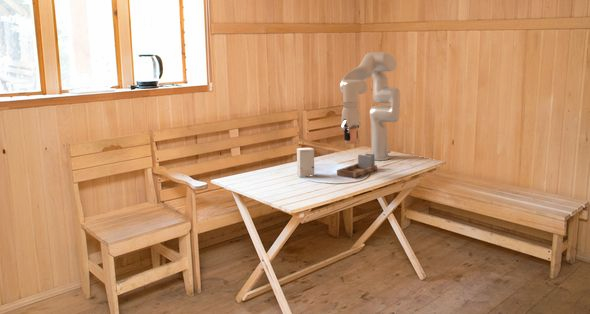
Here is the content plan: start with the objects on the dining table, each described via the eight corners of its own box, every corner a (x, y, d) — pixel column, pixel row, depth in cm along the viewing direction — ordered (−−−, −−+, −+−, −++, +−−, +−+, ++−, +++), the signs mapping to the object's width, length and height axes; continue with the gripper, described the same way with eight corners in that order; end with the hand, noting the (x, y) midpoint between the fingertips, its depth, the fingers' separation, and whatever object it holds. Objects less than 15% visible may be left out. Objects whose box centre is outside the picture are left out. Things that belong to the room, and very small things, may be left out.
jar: (349, 141, 299) (349, 124, 297) (359, 142, 295) (359, 125, 293) (342, 143, 294) (342, 126, 293) (352, 144, 290) (352, 126, 288)
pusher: (364, 165, 314) (364, 153, 312) (377, 167, 308) (377, 154, 307) (358, 167, 310) (358, 154, 308) (371, 169, 304) (370, 156, 303)
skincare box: (300, 177, 297) (299, 150, 294) (296, 175, 303) (295, 148, 300) (315, 176, 300) (314, 148, 296) (311, 173, 305) (310, 146, 302)
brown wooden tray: (358, 168, 313) (358, 162, 313) (376, 170, 305) (376, 165, 305) (337, 175, 299) (336, 170, 298) (355, 178, 291) (355, 173, 290)
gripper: (354, 103, 299) (354, 136, 303) (334, 106, 287) (335, 141, 291) (366, 103, 294) (366, 137, 298) (346, 107, 282) (347, 142, 286)
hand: (351, 139), depth 294 cm, fingers closed on jar, 6 cm apart
